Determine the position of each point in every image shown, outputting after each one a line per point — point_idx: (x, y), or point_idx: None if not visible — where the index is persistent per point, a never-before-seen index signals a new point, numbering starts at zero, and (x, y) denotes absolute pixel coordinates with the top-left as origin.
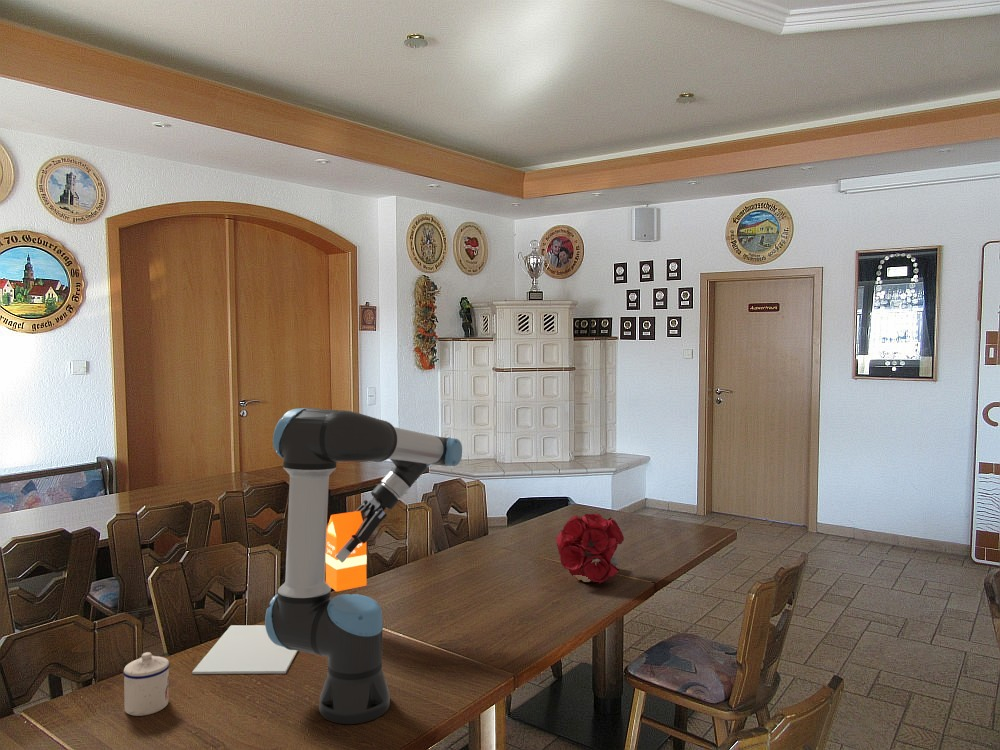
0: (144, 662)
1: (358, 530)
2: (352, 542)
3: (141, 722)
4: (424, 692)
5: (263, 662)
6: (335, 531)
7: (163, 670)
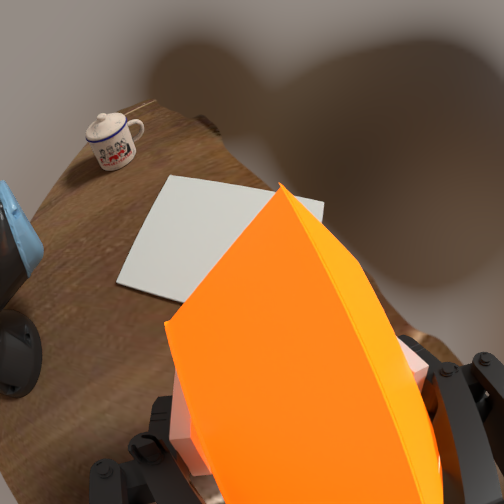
0: (95, 121)
1: (181, 501)
2: (159, 434)
3: (92, 161)
4: (19, 444)
5: (157, 251)
6: (187, 304)
7: (88, 140)
